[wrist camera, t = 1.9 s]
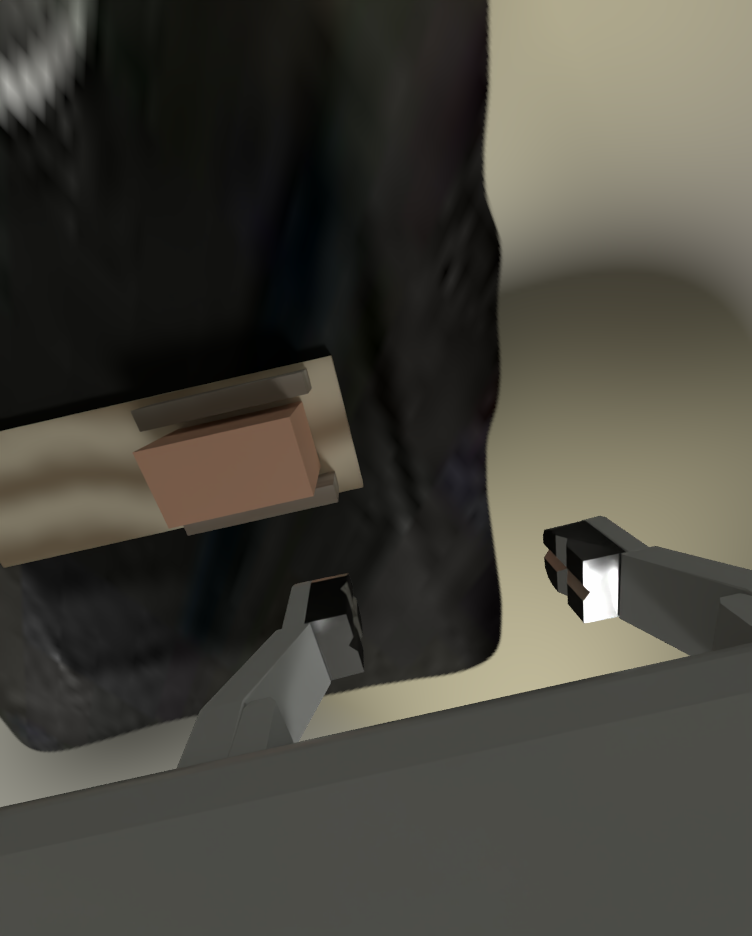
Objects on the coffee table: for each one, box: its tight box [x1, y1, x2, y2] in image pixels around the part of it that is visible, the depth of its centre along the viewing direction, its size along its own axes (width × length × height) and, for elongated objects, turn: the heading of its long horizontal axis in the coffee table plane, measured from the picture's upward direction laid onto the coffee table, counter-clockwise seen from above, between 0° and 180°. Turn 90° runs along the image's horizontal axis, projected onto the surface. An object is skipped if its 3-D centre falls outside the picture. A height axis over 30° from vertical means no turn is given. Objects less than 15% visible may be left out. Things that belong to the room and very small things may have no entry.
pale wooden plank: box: [0, 355, 363, 568], centre depth 28 cm, size 11×32×4 cm, turn 102°
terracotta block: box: [133, 401, 321, 529], centre depth 26 cm, size 6×10×6 cm, turn 102°
